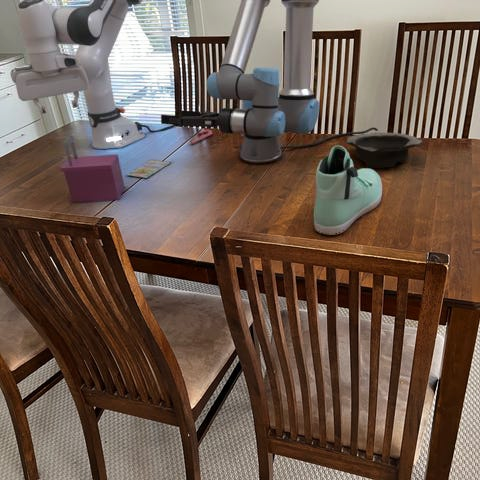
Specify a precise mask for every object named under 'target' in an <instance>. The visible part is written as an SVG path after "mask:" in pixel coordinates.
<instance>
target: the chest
mask: <svg viewBox="0 0 480 480" xmlns="http://www.w3.org/2000/svg"><path fill="white" fill-rule="evenodd" d="M63 174H64V178H65V181H66V185H67V188H68V192H69V195H70V199H71V202H72V203H84V202H85V203H86V202H87V203H88V202H103V201H119V200H120V199H121V196H122V195H123V192H124V190H125V189H126V188H125V187H126V186H125V182H124V177H123V173H122V168H121V163H120V158H119V157H118V159H117V161H116V162H115V164H114V166H113V167H112V169H96V170H80V171H64V172H63Z"/></svg>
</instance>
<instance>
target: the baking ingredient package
mask: <svg viewBox="0 0 480 480" xmlns="http://www.w3.org/2000/svg"><path fill="white" fill-rule="evenodd" d="M169 164H170V162H168V161H160V160H153V159H150V160H148V161H147V162H145V163H144V164H141V165H140V166H138V167H137V168H135V169H134V170H132V171H130V172H128V173H127V174H126V176H131V177H138V178H145V179H148V178H149V177H150V176H152V175H153V174H155V173H158V171H160V170H162V169H163V168H165V167H166V166H168V165H169Z"/></svg>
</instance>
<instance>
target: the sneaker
mask: <svg viewBox="0 0 480 480" xmlns="http://www.w3.org/2000/svg"><path fill="white" fill-rule="evenodd" d="M317 165H318V166H317V168H316V172H315V201H314V207H313V225H314V229H315V231H316V232H318V233H320V234H323V235H326V236H327V235H328V236H336V235H339V234H342V233H344V232H345V231H347V230H348V229H349V228H350V227H351V226H352V225H353V224H354V222H356V221H357V220H358V219H359V218H360V217H362V216H363V215H365V214H367V213H370V212H372V210H374V209H375V208H377V207H378V205H380V203H381V200H382V196H383V184H382V183H383V182H382V179H381V176H380V175H379V173H378V172H377V171H376V170H374V169H372V168H369V167H365V168H358V169H357V168H355V167H354V161H353V159H352V158H351V156H350V153H349V152H348V150H347V148H345V147H344V146H342V145H334V146H333V147H331V149H330V151H329V154H327V155H326V156H325V157H324V158H322V159H321V160H320V161H319V163H318V164H317ZM343 230H344V231H343ZM319 231H320V232H319ZM322 232H323V233H322ZM339 232H340V233H339ZM326 233H327V234H326ZM328 233H329V234H328ZM335 233H337V234H335Z"/></svg>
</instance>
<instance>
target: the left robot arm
mask: <svg viewBox="0 0 480 480" xmlns="http://www.w3.org/2000/svg"><path fill="white" fill-rule="evenodd" d="M143 1H144V0H90V1H89V3H88V4H87V5H85V6H79V7H57V6H55V5H51V4H50V3H48V2H47V1H46V0H22V1H21V2H19V4H18V5H17V19H18V23H19V27H20V32H21V35H22V37H23V40H24V41H25V43H26V48H27V49H26V52H27V55H28V59H29V63H30V64H24V65H21V66H14V68H13V69H11V71H10V78H11V80H12V82H13V84H15V87H16V93H17V96H18V100H21V101H22V102H27V101H32V102H33V104H34V105H36V108H38V110H39V112H40V114H41V115H43V114H47V110H46V107H45V105H41V104H40V103H39V101H40V100H39V99H43V98H49V97H56V96H60V95H68V94H73V96H74V99H73V100H71V101H70V103H71V107H72V108H79V103H78V100H79V98H80V92H83V96H84V100H85V104H86V108H87V118H88V122H89V125H90V127H91V128H90V129H91V137H92V138H91V140H92V141H91V147H92V148H94V149H98V150H107V149H121V148H122V149H123V148H124V147H127V146H128V145H131V144H132V143H135V142H137V141H139V140H141V139H143V138H145V137H146V135H145V133H144V132H142V131H143V128H146V129H147V131H148V132H150V133H158V132H163V131H166V130H168V129H172V128H174V127H176V126H178V125H168V126H165V127H164V128H160V129H156V130H153V129H151V128H150V126H148V125H146V124H141V123H140V122H138V121H135V122H134V121H133V120H131V119H129V118H127V117H125V116H123V115H122V114H125V112H126V109H125V108H124V107H123V108H122V107H117V106H116V103H115V97H114V93H113V87H112V79H111V71H110V65H109V57H110V55H111V53H112V50H113V48H114V46H115V43H116V41H117V39H118V36H119V34H120V31H121V29H122V27H123V24H124V22H125V20H126V16H127V14H128V12H129V11H128V10H129V7H132V5H133V6H138V5H140V4H141V3H142V2H143ZM60 45H68V46H69V45H72V46H73V45H74V46H75V45H78V47H77V49H76V52H75V54H69V53H62V51H61V47H60Z"/></svg>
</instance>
